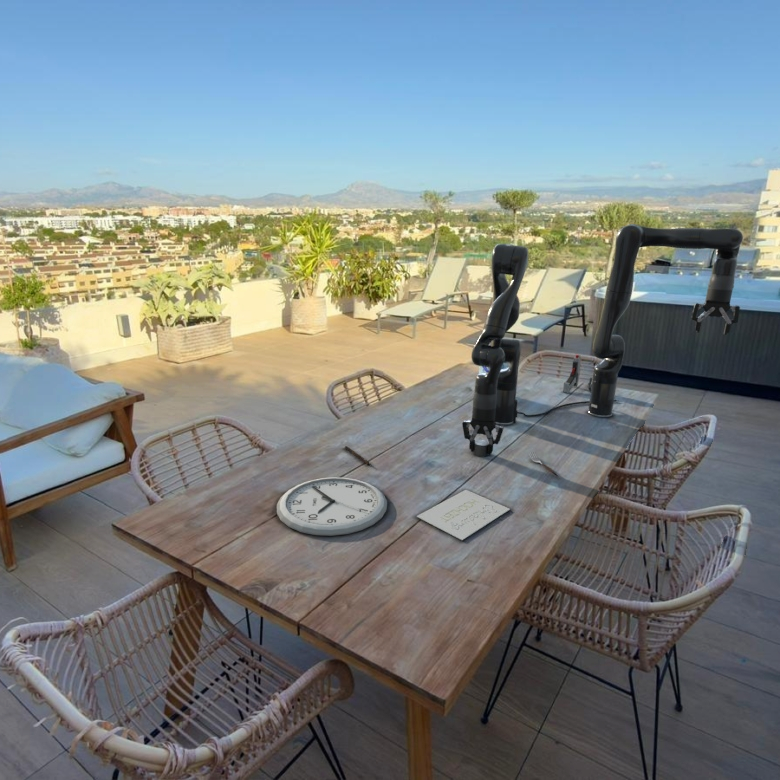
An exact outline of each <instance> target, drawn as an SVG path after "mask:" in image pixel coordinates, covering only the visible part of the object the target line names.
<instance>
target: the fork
mask: <svg viewBox="0 0 780 780" xmlns="http://www.w3.org/2000/svg"><path fill="white" fill-rule="evenodd" d="M528 454H529V457H530V458H531V460H532V462H534V463H538V464H541V466H543V468H544V469H546V471H548V472H550V473H552V475H554V476H555V477H559V475H558V474H557V473H556V472H555V471H554V470H553V469H552V468H551V467H549V466H548V465H546V464H545V463H543V462H542V460H541V459H540V458H539V456H538V454H537V452H536V451H528Z"/></svg>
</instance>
